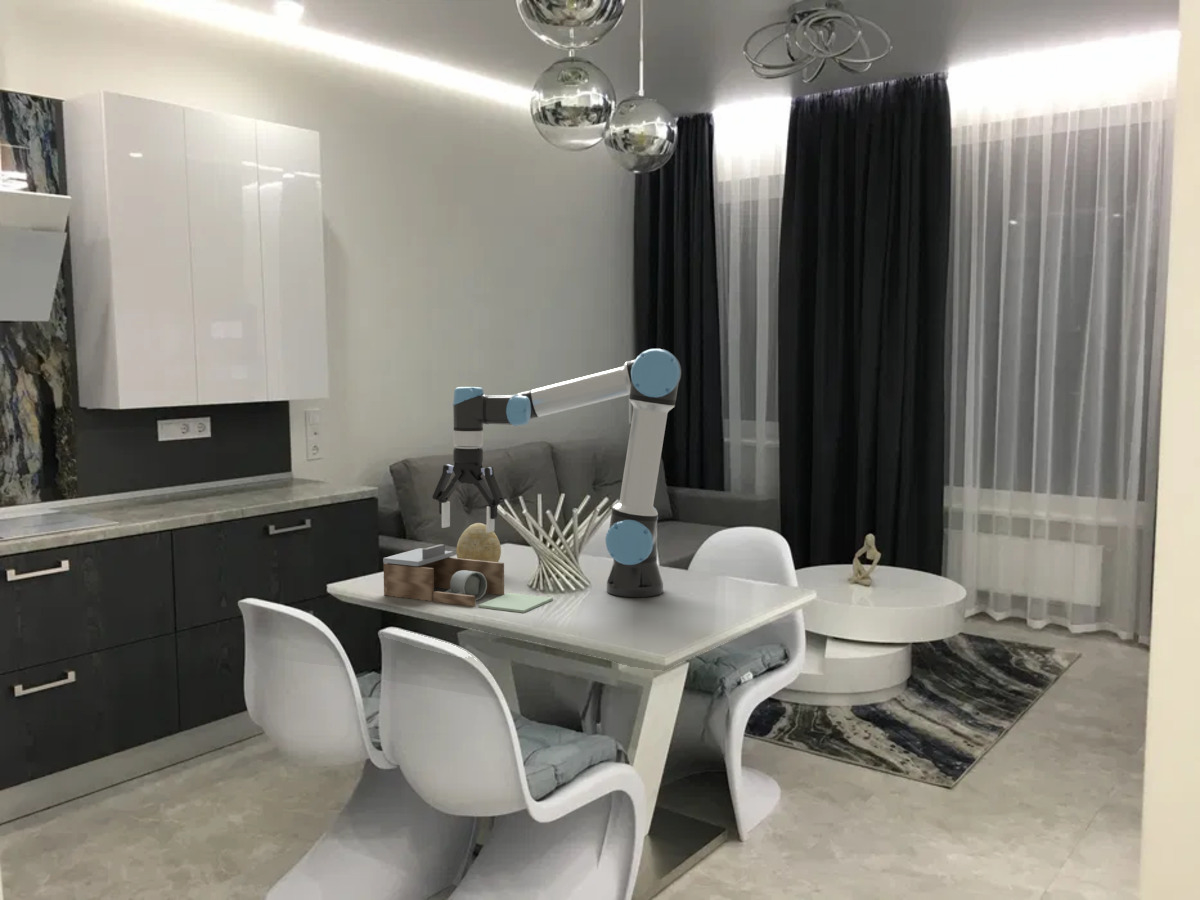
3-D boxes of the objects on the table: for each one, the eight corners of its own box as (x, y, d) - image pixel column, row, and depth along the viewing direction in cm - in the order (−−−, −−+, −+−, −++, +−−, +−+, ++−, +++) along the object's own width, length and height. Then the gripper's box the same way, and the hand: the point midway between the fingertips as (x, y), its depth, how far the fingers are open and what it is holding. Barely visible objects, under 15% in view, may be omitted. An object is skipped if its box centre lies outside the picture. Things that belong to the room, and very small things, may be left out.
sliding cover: (453, 555, 270) (453, 542, 269) (418, 566, 255) (418, 552, 255) (419, 552, 274) (419, 539, 274) (383, 562, 260) (383, 548, 260)
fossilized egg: (462, 569, 295) (461, 519, 294) (504, 570, 294) (504, 520, 292) (451, 578, 282) (451, 526, 281) (496, 579, 281) (495, 527, 280)
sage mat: (552, 600, 257) (552, 597, 257) (523, 612, 243) (523, 610, 243) (509, 594, 262) (509, 592, 262) (478, 607, 249) (478, 604, 249)
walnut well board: (504, 594, 263) (504, 562, 262) (473, 606, 250) (473, 573, 249) (417, 584, 275) (417, 554, 274) (384, 595, 261) (383, 563, 261)
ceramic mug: (470, 593, 264) (469, 565, 264) (487, 598, 258) (487, 570, 258) (437, 599, 257) (436, 571, 257) (454, 605, 252) (454, 576, 251)
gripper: (517, 448, 254) (517, 531, 255) (435, 443, 264) (435, 523, 266) (502, 450, 247) (502, 535, 249) (419, 445, 258) (419, 527, 259)
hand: (467, 529), depth 257 cm, fingers open, 13 cm apart
